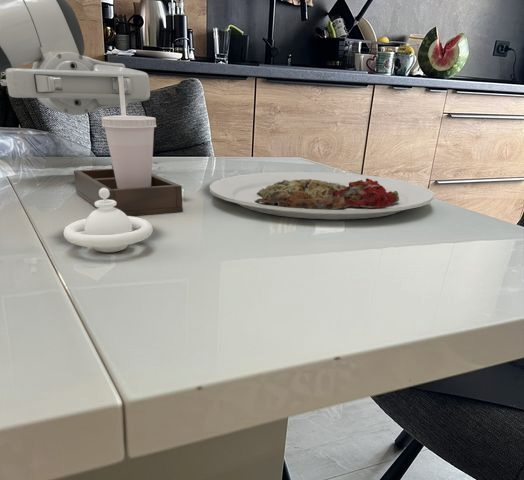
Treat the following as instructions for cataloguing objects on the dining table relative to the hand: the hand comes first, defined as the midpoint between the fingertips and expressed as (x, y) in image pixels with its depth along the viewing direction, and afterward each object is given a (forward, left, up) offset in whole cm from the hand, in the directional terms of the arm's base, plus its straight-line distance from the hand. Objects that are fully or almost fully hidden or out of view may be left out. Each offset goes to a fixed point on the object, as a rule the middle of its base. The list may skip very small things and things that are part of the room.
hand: (92, 85), depth 75 cm
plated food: (+24, -21, -14) cm, 35 cm away
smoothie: (0, -15, -13) cm, 20 cm away
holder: (0, -11, -14) cm, 18 cm away
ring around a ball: (-8, -33, -14) cm, 37 cm away
